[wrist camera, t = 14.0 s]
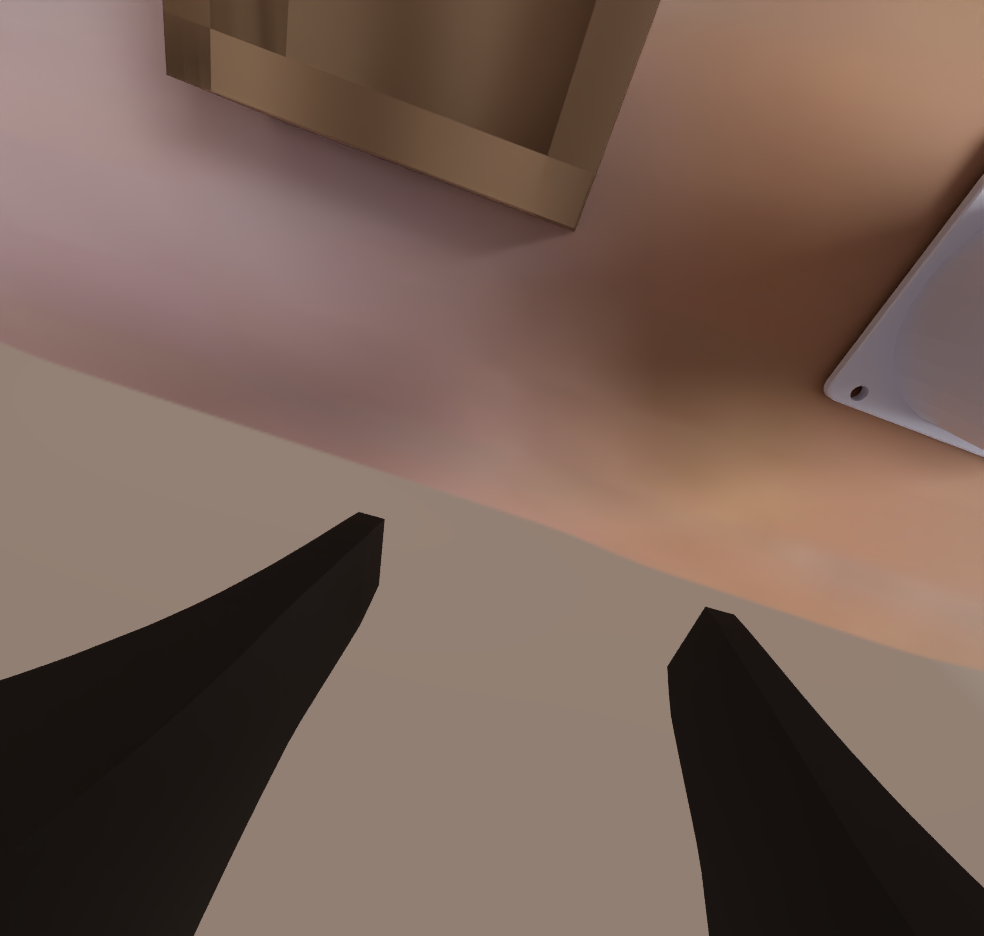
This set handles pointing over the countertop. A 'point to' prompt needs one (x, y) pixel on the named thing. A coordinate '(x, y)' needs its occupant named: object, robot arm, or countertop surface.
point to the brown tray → (431, 82)
